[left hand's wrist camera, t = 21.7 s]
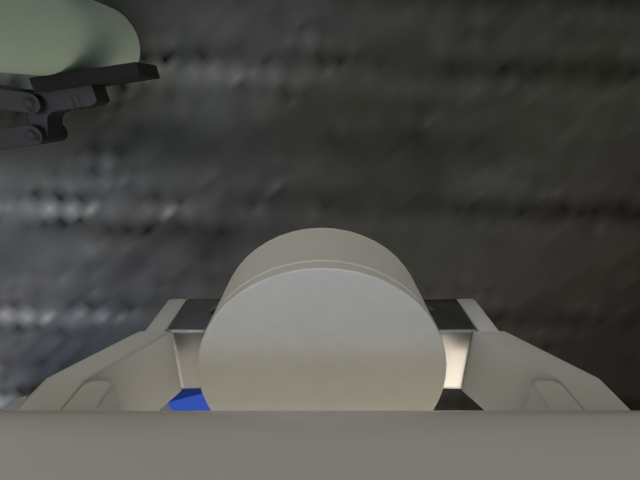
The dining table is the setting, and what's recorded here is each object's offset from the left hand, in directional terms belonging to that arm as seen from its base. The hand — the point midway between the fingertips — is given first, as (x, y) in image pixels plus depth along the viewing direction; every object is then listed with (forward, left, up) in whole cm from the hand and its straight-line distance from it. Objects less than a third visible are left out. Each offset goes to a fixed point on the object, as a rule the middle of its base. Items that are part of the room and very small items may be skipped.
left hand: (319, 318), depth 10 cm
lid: (0, 0, +2) cm, 2 cm away
